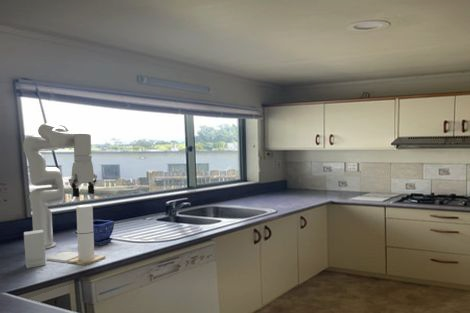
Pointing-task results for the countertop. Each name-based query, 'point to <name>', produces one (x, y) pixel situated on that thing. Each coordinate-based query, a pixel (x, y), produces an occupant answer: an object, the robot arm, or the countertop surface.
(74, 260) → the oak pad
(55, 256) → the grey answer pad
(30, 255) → the skincare box
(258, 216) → the countertop surface
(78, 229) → the cylindrical container
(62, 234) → the countertop surface
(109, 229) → the flower pot
